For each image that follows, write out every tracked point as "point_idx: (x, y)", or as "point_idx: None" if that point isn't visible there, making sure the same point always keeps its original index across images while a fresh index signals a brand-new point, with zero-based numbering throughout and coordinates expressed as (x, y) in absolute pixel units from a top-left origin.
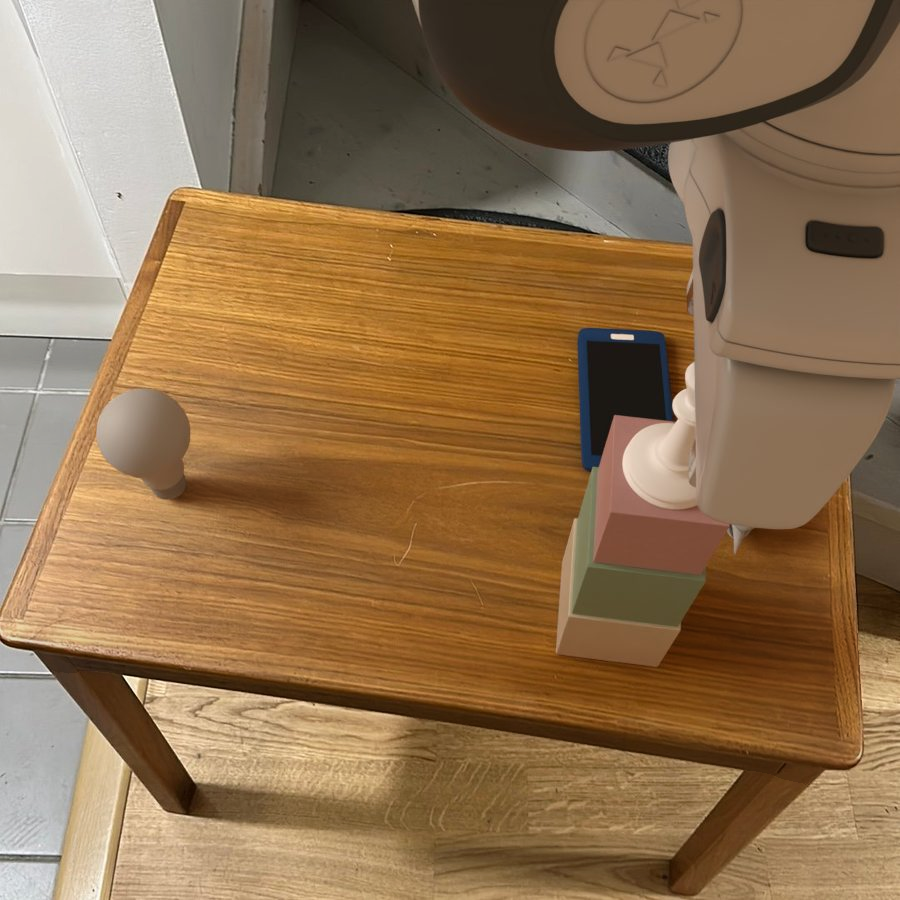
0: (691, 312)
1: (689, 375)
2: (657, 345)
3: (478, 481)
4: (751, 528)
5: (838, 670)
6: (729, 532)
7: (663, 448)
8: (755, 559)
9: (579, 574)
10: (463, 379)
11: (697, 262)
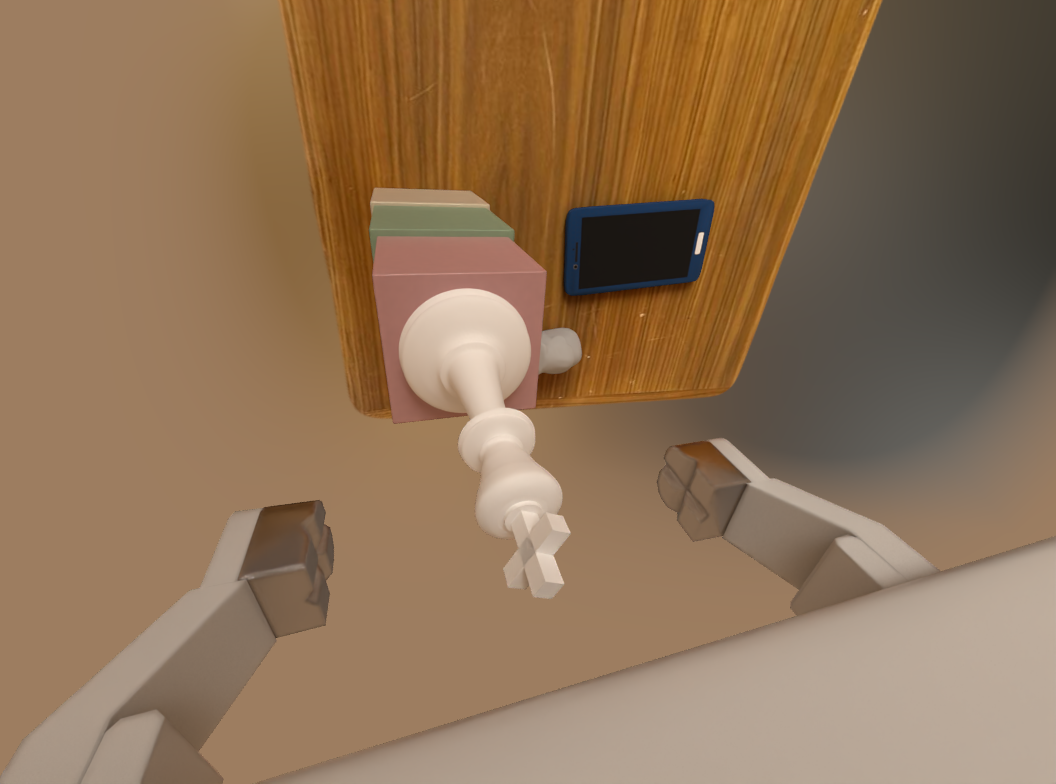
0: (673, 453)
1: (518, 484)
2: (686, 275)
3: (553, 88)
4: None
5: None
6: None
7: (468, 359)
8: None
9: (396, 215)
10: (676, 62)
11: (812, 760)
